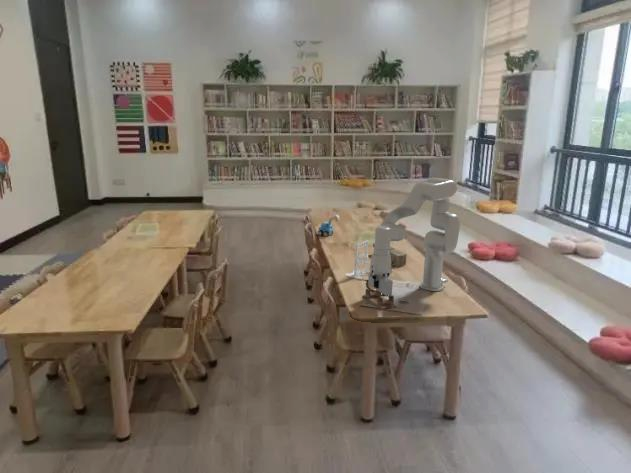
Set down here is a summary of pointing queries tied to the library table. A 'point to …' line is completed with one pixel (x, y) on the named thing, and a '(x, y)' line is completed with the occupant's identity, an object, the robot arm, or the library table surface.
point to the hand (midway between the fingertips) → (379, 286)
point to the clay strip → (382, 284)
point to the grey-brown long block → (397, 257)
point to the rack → (379, 300)
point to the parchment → (370, 286)
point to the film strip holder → (360, 262)
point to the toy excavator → (327, 227)
